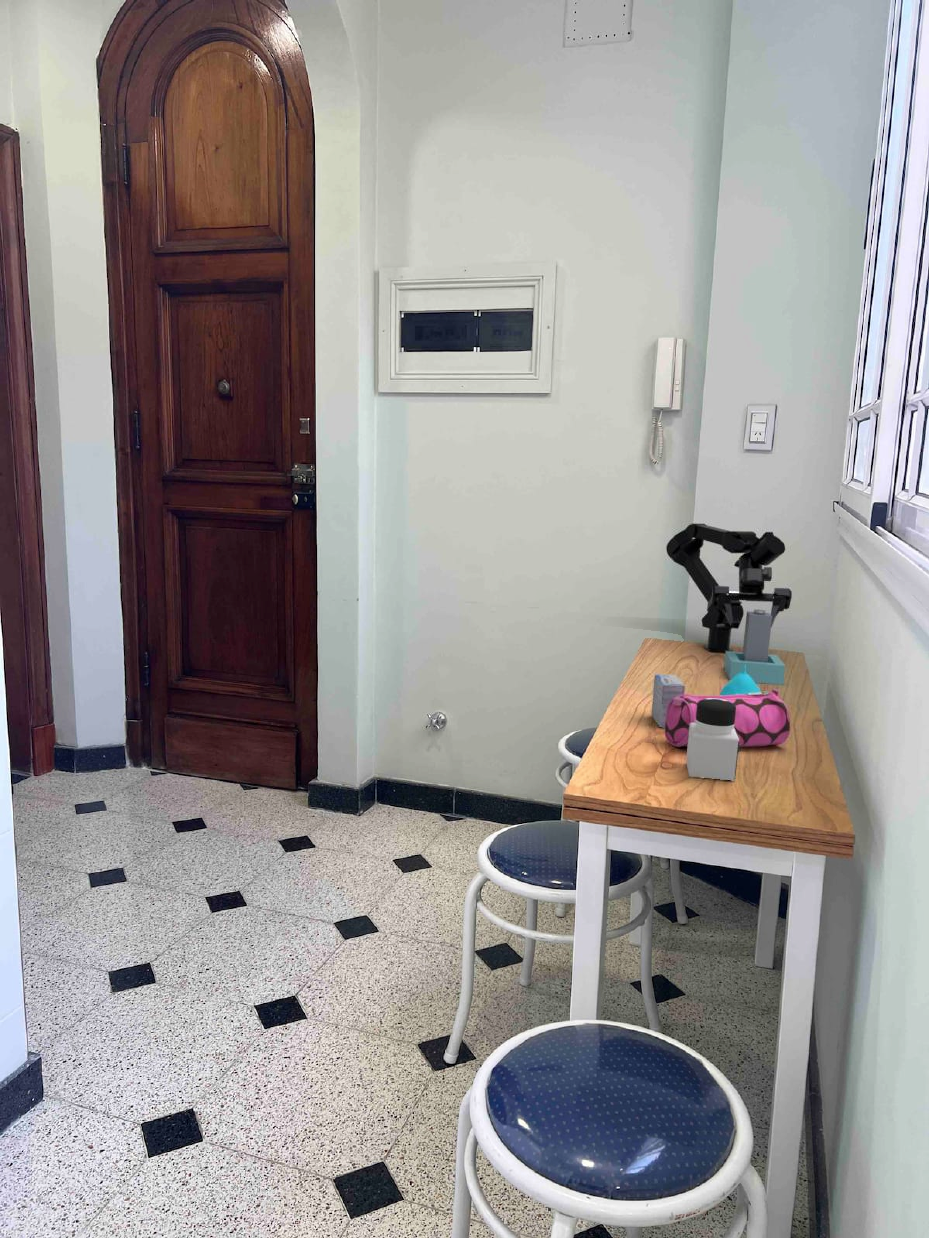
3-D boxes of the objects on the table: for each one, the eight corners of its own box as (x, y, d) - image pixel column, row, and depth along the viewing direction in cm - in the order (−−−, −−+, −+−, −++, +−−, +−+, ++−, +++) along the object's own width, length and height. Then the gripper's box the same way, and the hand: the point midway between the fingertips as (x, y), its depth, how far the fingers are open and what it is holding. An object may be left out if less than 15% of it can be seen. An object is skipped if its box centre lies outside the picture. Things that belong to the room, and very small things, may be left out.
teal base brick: (723, 668, 217) (725, 650, 216) (774, 672, 215) (776, 654, 214) (729, 680, 205) (731, 661, 205) (783, 684, 204) (785, 665, 203)
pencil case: (758, 733, 166) (764, 682, 164) (791, 750, 157) (797, 696, 155) (656, 739, 160) (661, 685, 158) (684, 757, 151) (689, 700, 149)
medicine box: (682, 729, 166) (686, 684, 164) (658, 728, 166) (662, 683, 164) (673, 717, 174) (677, 674, 172) (650, 716, 174) (654, 673, 172)
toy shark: (720, 728, 168) (726, 673, 166) (708, 702, 185) (713, 653, 183) (774, 732, 166) (780, 677, 164) (756, 706, 184) (761, 656, 182)
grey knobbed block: (741, 661, 213) (747, 608, 210) (763, 662, 212) (769, 609, 209) (744, 665, 208) (750, 611, 205) (766, 667, 207) (772, 613, 205)
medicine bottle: (735, 782, 139) (743, 709, 137) (688, 777, 140) (695, 704, 138) (729, 767, 146) (737, 697, 144) (685, 762, 147) (692, 693, 145)
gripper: (714, 554, 220) (713, 606, 212) (793, 556, 216) (795, 609, 208) (711, 580, 229) (710, 630, 221) (787, 582, 225) (789, 634, 217)
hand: (751, 625), depth 216 cm, fingers open, 9 cm apart
